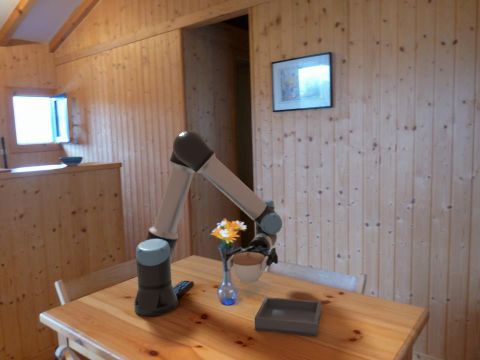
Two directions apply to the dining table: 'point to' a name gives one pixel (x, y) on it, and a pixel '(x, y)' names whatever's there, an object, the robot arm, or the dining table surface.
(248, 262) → the lidded jar
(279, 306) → the bin
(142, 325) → the dining table surface
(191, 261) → the dining table surface
